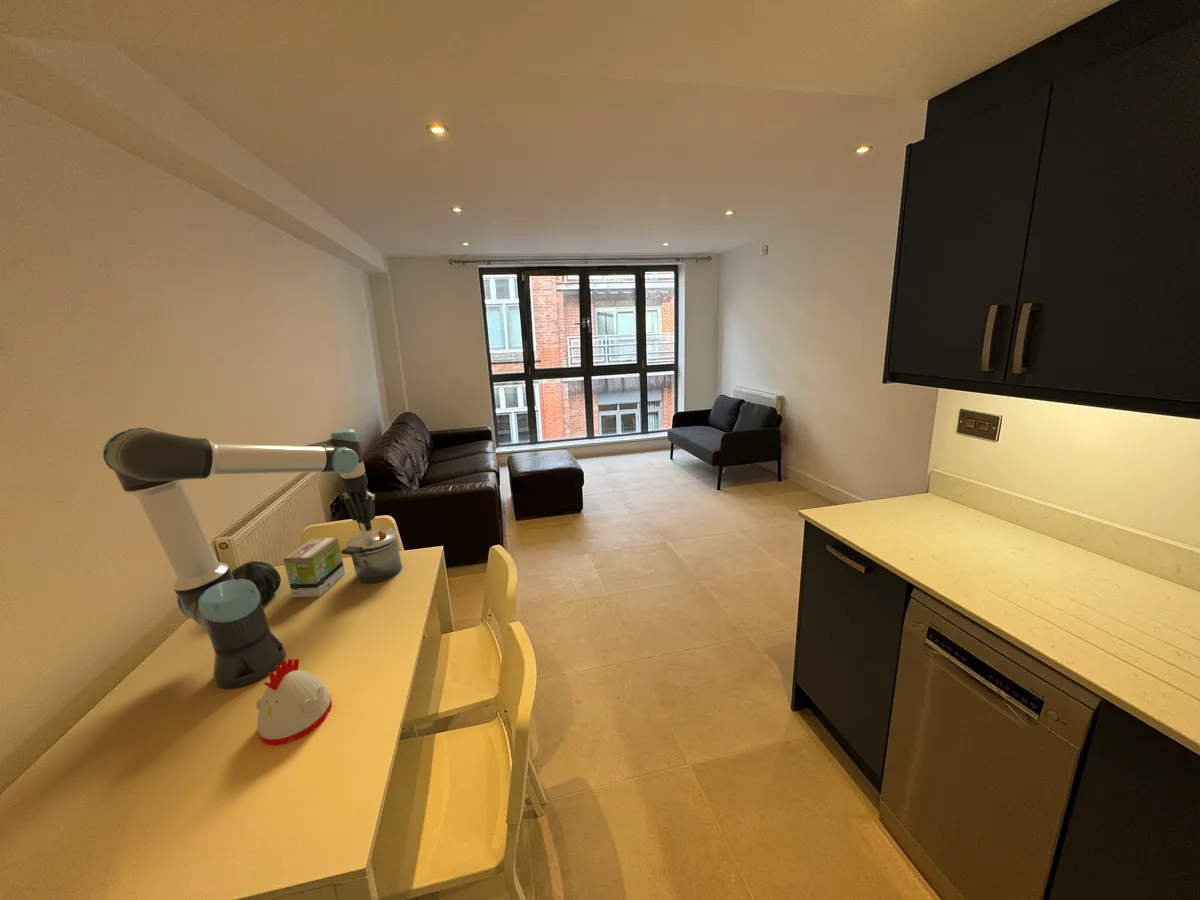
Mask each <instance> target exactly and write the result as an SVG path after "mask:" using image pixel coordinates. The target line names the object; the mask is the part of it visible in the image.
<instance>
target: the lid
mask: <svg viewBox="0 0 1200 900" xmlns="http://www.w3.org/2000/svg"><path fill="white" fill-rule="evenodd" d="M396 531H397V530H396V529H395V528H387V527H386V528H385V527H383V528H377V529H371V532H372V538H370V539H369V540H367V541H364V540H363V537H362V532H361V533H358V534H355V535H353V536H351V537H350V538H349V539H348V540H347V541H346V547H345V548H342V549H340V552H341V555H348V556H349V555H355V554H357V553H358V552H360V551H362V550H369V549H374V548H378V547H381V546H384V545H387V544H389V543H391V542H393V541H394V540H395V539H396V538H397V539H398V537H397V536H398V531H397V532H396Z"/></svg>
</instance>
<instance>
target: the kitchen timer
mask: <svg viewBox="0 0 1200 900" xmlns="http://www.w3.org/2000/svg"><path fill="white" fill-rule="evenodd" d="M299 661H300V659H299V658H294V660H293V659H291V658H288V659H287V661H286V660H285V659H284V660H281V664H280V665H276V669H275V672H269V674H268V677H269V680H270V681H269V682H264V685H265V686H267V687H266V688H265V691H264V692H263V694H262V695H261V696H259V697H258V699H257V701H256V709H257V710H258V711H257V713H258V715H257V731H258V732H257V733H258V735H259V738H260V739H261V741H262V743H263V744H266V745H268V746H279V745H286V744H289V743H292V742H295V741H297V740H299V739H301V738H303V737H305V736H307V735H309V734H311V731H312V732H313V731H314V730H316V729H317V728H318V727H320V725H321V724H322V723H324V721H325V720H326V719H327V718H328V716H329V715H328V713H329V712H331V711H330V710H332V708H331V707H333V703H332V702H333V701H332V698H331V697H332V696H331V694H330V692H329V690H328V689H327V688H326V686H325V685H324V684H323V683H322V682H321V681H320V679H318V678H317V677H316V676H315V675H314V674H312V673H310V672H307V671H305V670H302V669H299ZM331 701H332V702H331ZM329 714H330V713H329ZM327 715H328V716H327ZM325 718H326V719H325ZM315 728H316V729H315Z"/></svg>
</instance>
